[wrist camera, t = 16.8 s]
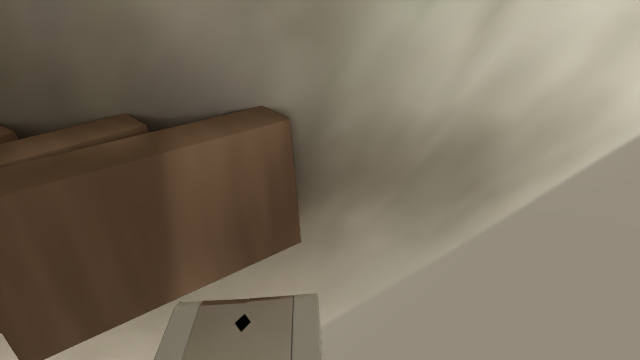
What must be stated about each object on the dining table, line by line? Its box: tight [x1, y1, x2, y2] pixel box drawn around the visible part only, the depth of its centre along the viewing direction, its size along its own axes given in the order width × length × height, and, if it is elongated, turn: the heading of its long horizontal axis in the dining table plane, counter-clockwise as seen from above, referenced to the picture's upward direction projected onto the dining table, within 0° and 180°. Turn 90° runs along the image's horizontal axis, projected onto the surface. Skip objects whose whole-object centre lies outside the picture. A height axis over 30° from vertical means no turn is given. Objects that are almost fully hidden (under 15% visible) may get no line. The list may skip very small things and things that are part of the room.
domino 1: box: [0, 114, 149, 333], centre depth 12 cm, size 2×5×9 cm
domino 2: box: [0, 106, 301, 360], centre depth 12 cm, size 2×5×9 cm
